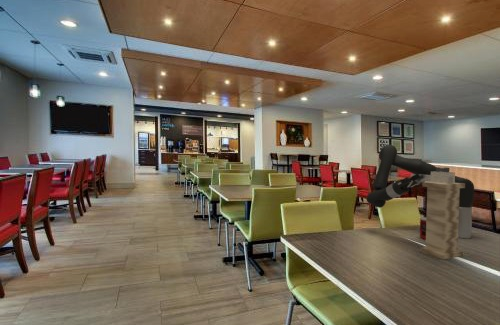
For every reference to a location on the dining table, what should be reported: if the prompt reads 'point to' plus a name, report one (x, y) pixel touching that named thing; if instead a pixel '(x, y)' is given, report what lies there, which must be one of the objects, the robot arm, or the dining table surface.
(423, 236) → the canned food
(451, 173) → the grey elongated piece
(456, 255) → the stand
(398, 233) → the dining table surface
